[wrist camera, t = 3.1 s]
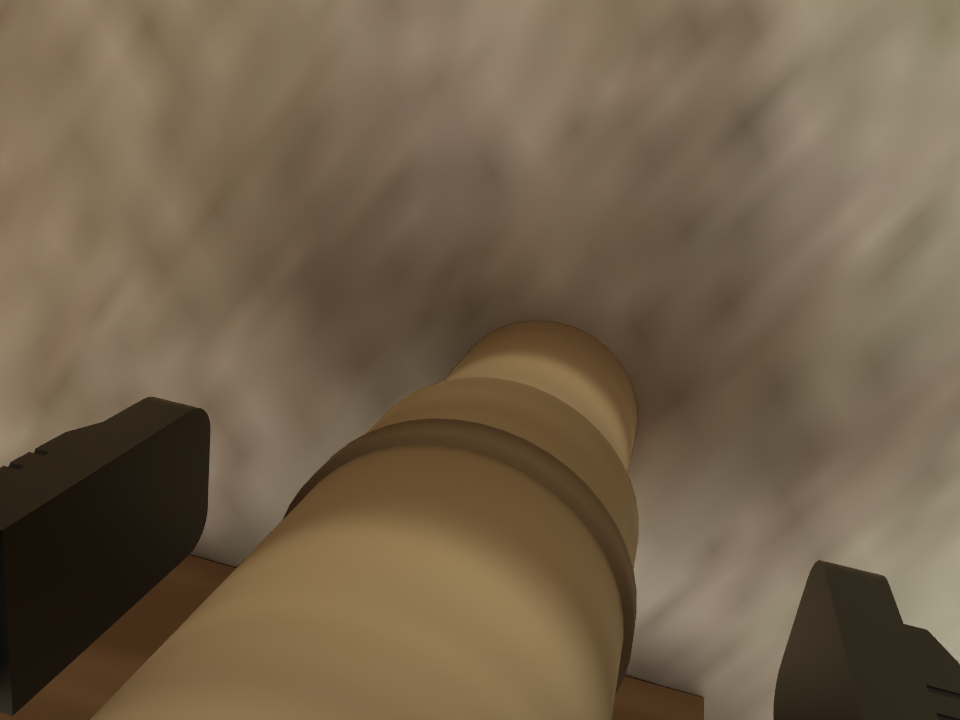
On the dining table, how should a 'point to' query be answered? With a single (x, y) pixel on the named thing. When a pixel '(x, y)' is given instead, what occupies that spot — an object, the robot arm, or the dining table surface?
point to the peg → (436, 561)
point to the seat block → (152, 620)
